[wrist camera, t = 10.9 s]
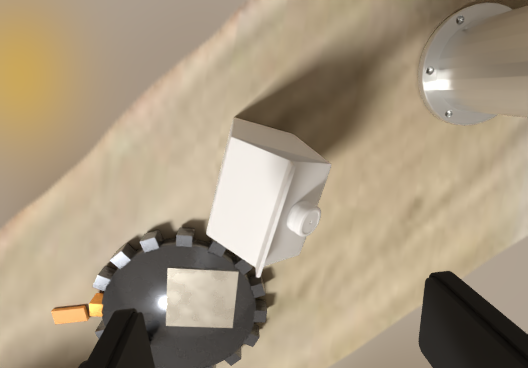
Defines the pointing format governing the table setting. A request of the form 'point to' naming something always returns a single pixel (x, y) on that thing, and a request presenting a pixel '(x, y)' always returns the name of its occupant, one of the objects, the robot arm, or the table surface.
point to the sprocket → (184, 299)
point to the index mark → (70, 314)
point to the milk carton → (266, 194)
